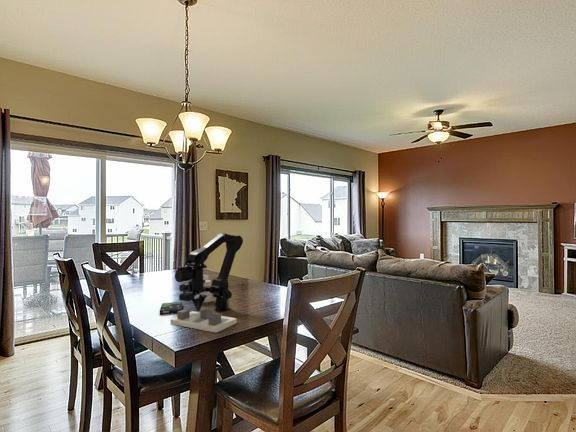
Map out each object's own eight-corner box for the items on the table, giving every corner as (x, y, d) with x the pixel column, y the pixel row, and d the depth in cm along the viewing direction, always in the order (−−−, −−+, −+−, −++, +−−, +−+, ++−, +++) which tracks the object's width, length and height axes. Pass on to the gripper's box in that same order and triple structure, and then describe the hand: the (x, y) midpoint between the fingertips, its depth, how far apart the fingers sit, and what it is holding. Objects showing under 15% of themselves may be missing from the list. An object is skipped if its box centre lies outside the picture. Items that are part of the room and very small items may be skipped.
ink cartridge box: (195, 303, 187) (195, 276, 187) (194, 301, 192) (194, 275, 192) (211, 302, 190) (211, 275, 190) (210, 299, 195) (209, 274, 195)
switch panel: (192, 315, 166) (192, 310, 166) (236, 322, 154) (236, 318, 154) (170, 323, 153) (170, 319, 153) (216, 332, 141) (216, 327, 141)
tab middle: (206, 315, 158) (206, 308, 158) (212, 316, 156) (212, 309, 156) (200, 317, 154) (200, 311, 154) (206, 318, 153) (206, 312, 153)
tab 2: (214, 321, 149) (214, 314, 149) (221, 322, 148) (221, 315, 148) (208, 324, 146) (208, 316, 146) (215, 325, 144) (215, 318, 144)
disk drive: (181, 314, 170) (182, 306, 184) (181, 309, 170) (182, 301, 184) (159, 316, 167) (161, 307, 181) (159, 310, 167) (161, 302, 181)
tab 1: (183, 315, 158) (183, 309, 158) (189, 316, 156) (189, 310, 156) (177, 318, 154) (177, 311, 154) (183, 319, 152) (183, 312, 152)
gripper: (197, 273, 175) (198, 304, 175) (169, 281, 158) (170, 314, 159) (215, 275, 170) (215, 306, 170) (188, 283, 153) (189, 317, 154)
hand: (198, 311), depth 163 cm, fingers closed
